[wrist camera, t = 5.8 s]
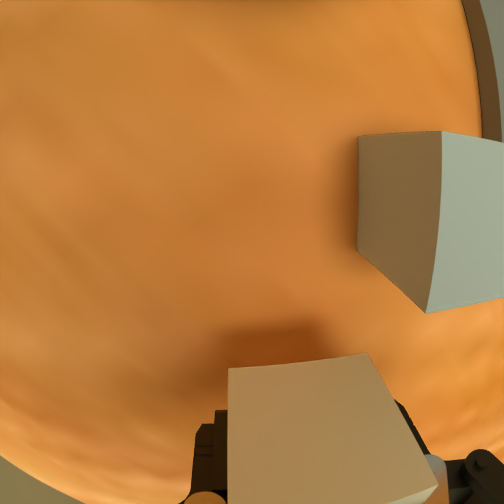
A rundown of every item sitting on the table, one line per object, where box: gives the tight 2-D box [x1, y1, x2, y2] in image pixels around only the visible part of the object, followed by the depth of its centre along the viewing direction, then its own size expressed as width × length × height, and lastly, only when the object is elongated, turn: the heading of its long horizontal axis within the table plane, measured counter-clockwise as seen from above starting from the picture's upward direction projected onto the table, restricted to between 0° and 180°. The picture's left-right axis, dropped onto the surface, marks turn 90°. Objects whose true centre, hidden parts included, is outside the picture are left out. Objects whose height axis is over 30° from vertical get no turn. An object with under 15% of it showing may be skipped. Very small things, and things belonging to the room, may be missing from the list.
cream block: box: [227, 353, 439, 504], centre depth 8 cm, size 5×5×6 cm
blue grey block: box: [357, 131, 504, 314], centre depth 10 cm, size 5×5×6 cm
